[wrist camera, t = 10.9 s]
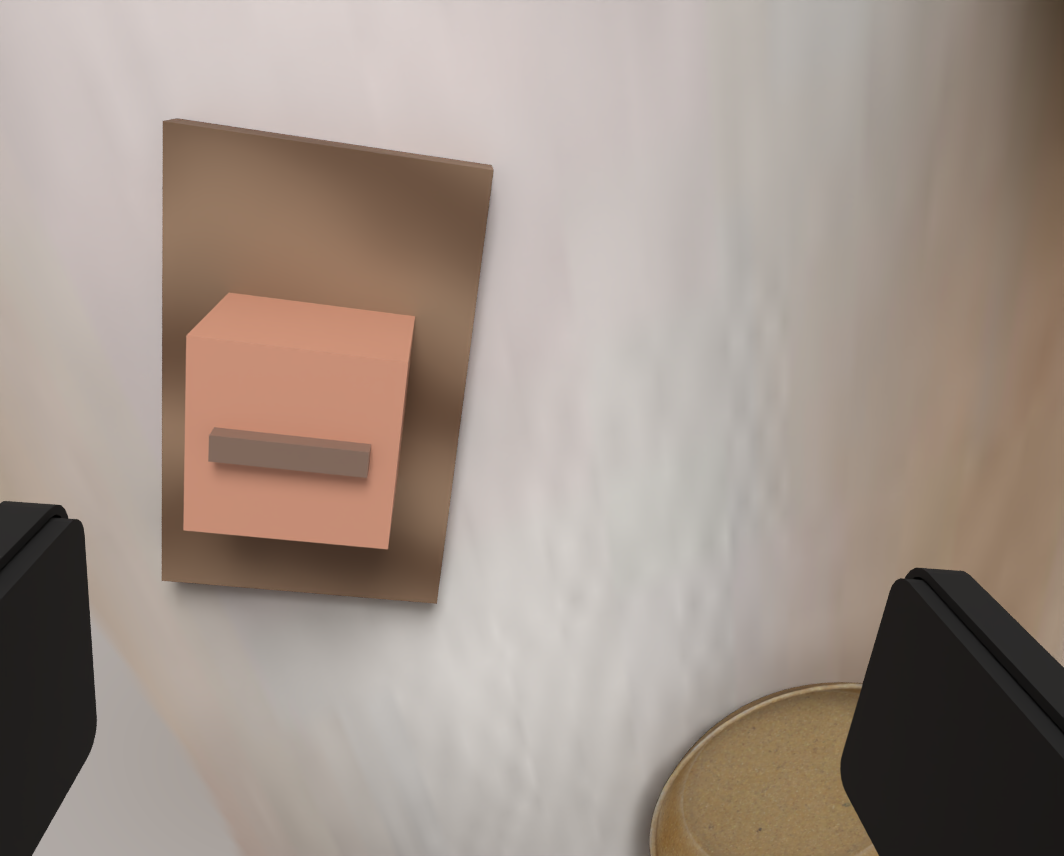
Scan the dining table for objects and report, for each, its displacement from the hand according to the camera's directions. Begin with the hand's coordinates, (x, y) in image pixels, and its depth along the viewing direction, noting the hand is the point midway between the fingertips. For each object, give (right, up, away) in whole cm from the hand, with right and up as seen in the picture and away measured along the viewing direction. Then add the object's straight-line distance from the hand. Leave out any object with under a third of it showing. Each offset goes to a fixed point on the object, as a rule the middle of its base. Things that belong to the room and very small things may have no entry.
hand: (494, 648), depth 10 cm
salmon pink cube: (-7, +4, +20) cm, 22 cm away
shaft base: (-7, +4, +21) cm, 23 cm away
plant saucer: (+13, -14, +31) cm, 36 cm away
